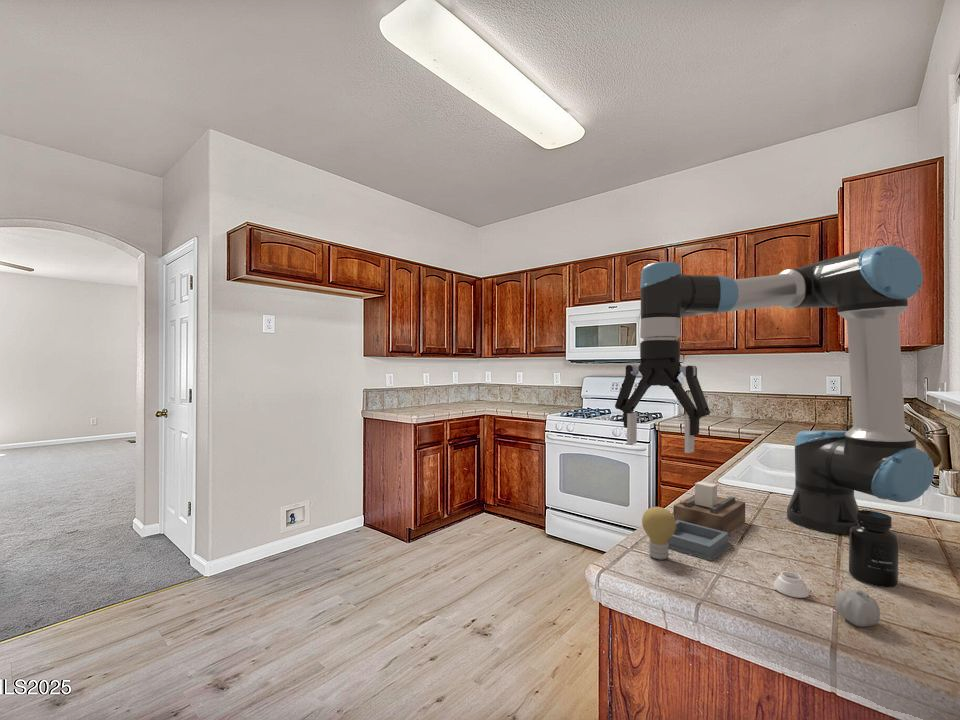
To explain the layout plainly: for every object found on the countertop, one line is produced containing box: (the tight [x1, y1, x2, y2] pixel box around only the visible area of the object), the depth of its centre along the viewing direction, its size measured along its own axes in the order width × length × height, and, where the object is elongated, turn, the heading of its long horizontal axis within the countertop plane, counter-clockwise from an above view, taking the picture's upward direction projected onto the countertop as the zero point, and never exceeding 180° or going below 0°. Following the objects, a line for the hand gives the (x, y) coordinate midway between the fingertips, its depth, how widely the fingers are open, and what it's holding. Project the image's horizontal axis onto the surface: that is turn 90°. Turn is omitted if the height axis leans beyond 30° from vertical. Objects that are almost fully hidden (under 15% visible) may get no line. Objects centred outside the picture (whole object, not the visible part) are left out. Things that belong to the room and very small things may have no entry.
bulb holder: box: [667, 520, 733, 562], centre depth 98 cm, size 12×12×3 cm
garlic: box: [834, 588, 881, 628], centre depth 69 cm, size 6×5×5 cm
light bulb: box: [641, 506, 676, 561], centre depth 91 cm, size 6×6×10 cm
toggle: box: [694, 481, 718, 508], centre depth 108 cm, size 4×3×5 cm
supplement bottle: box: [848, 509, 900, 588], centre depth 82 cm, size 7×7×12 cm
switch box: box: [673, 494, 746, 535], centre depth 110 cm, size 11×16×6 cm
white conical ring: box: [773, 570, 810, 599], centre depth 78 cm, size 5×3×5 cm
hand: (659, 447), depth 91 cm, fingers open, 11 cm apart
